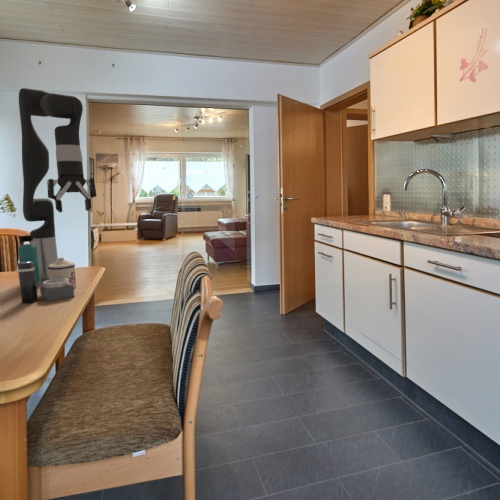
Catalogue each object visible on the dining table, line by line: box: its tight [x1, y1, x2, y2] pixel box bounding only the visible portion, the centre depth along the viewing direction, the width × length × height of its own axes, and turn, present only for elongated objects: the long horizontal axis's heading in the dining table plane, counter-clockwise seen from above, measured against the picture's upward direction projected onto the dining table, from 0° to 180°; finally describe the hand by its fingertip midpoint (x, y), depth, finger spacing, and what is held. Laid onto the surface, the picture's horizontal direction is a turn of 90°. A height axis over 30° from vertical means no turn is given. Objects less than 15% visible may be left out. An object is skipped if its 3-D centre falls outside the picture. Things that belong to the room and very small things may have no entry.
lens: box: [17, 261, 39, 304], centre depth 128 cm, size 5×5×13 cm
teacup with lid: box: [48, 257, 77, 289], centre depth 146 cm, size 12×9×12 cm
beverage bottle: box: [17, 234, 42, 286], centre depth 146 cm, size 6×7×20 cm
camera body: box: [39, 278, 75, 302], centre depth 134 cm, size 10×8×6 cm
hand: (74, 211), depth 126 cm, fingers open, 8 cm apart
